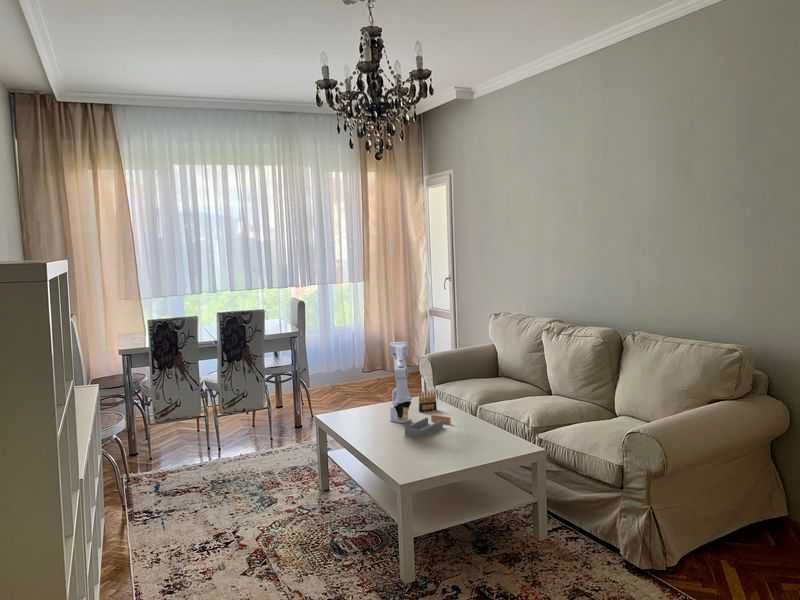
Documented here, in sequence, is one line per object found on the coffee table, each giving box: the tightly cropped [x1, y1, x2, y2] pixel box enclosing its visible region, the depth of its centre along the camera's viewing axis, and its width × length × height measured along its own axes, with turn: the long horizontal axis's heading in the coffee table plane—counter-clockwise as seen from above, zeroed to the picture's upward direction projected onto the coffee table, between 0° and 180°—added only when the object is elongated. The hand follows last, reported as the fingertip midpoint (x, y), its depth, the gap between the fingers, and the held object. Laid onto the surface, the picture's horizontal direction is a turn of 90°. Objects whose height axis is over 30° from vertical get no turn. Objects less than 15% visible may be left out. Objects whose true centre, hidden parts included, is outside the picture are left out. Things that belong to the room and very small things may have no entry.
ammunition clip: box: [418, 389, 438, 413], centre depth 360 cm, size 11×2×12 cm, turn 106°
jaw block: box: [397, 407, 409, 421], centre depth 321 cm, size 4×4×6 cm
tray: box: [404, 417, 444, 439], centre depth 322 cm, size 10×21×4 cm, turn 145°
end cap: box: [430, 414, 452, 425], centre depth 336 cm, size 12×1×4 cm, turn 55°
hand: (402, 416), depth 321 cm, fingers closed on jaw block, 4 cm apart
